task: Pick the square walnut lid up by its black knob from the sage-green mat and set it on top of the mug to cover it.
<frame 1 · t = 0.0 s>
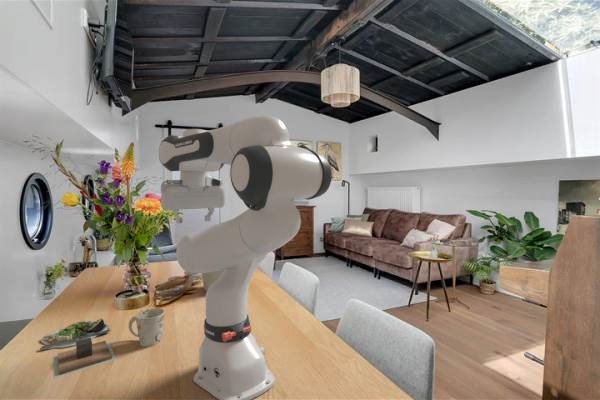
hand: (193, 222, 101), 39 cm above the table, tool pointing down, fingers open, 8 cm apart
walnut lid: (84, 357, 90), point 1 cm above the table, touching green mat
mug: (145, 343, 99), on the table
green mat: (84, 359, 90), on the table
canister: (218, 290, 151), on the table
salad plate: (78, 337, 104), on the table
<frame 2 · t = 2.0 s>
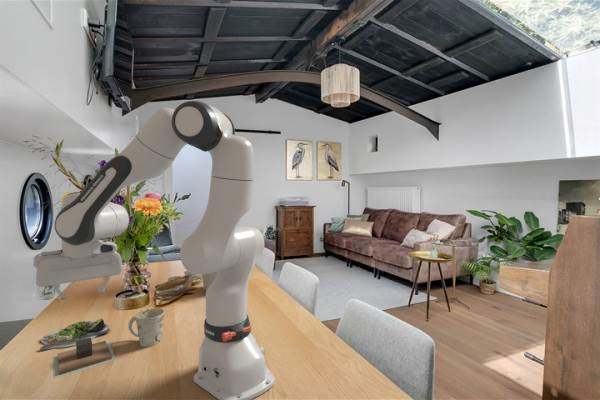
hand: (82, 295, 89), 19 cm above the table, tool pointing down, fingers open, 8 cm apart
nothing on the table moved.
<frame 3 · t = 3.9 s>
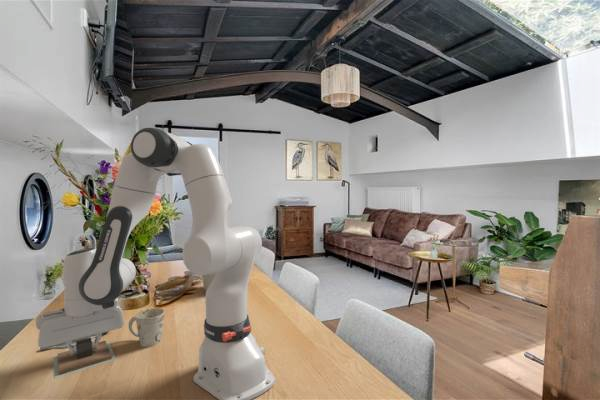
hand: (84, 351, 90), 3 cm above the table, tool pointing down, fingers closed on walnut lid, 3 cm apart
walnut lid: (84, 357, 90), point 1 cm above the table, touching green mat, gripper
everything else where it was.
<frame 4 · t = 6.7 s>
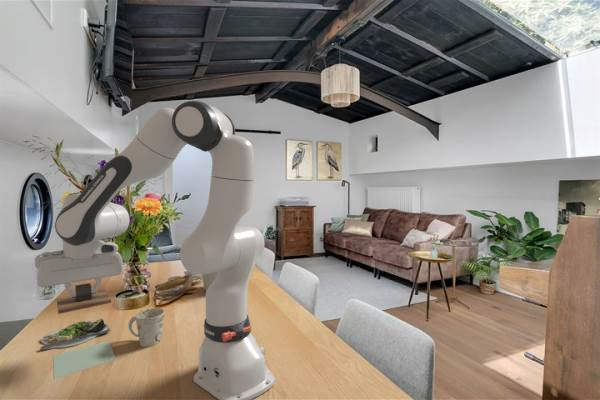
hand: (83, 295, 89), 19 cm above the table, tool pointing down, fingers closed on walnut lid, 3 cm apart
walnut lid: (83, 301, 89), point 17 cm above the table, touching gripper
everything else where it was.
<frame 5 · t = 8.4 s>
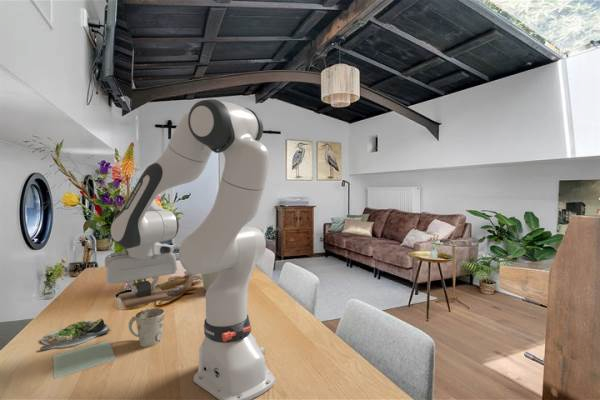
hand: (143, 292, 99), 17 cm above the table, tool pointing down, fingers closed on walnut lid, 3 cm apart
walnut lid: (143, 297, 99), point 15 cm above the table, touching gripper
everything else where it was.
when the fingers open (13 cm above the table, at t = 9.4 s): walnut lid drops 1 cm, resting on mug.
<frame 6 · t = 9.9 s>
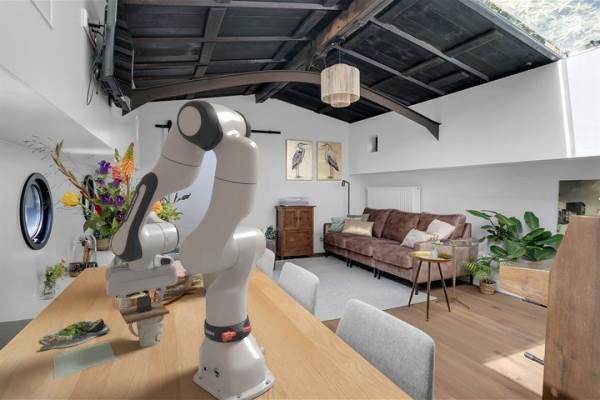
hand: (144, 303, 99), 13 cm above the table, tool pointing down, fingers open, 8 cm apart
walnut lid: (144, 312, 99), point 10 cm above the table, touching mug
mug: (145, 343, 99), on the table, touching walnut lid
everything else where it was.
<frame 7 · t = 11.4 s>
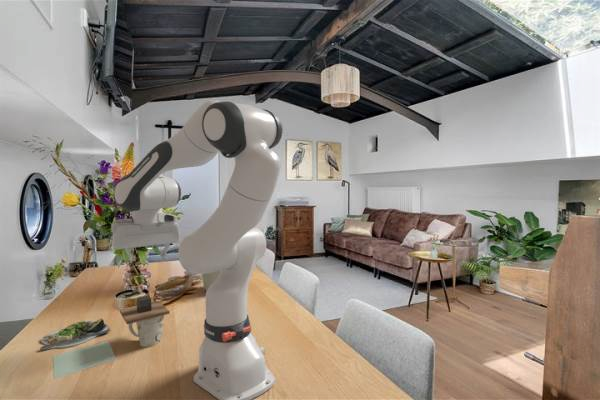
hand: (148, 259, 101), 27 cm above the table, tool pointing down, fingers open, 8 cm apart
nothing on the table moved.
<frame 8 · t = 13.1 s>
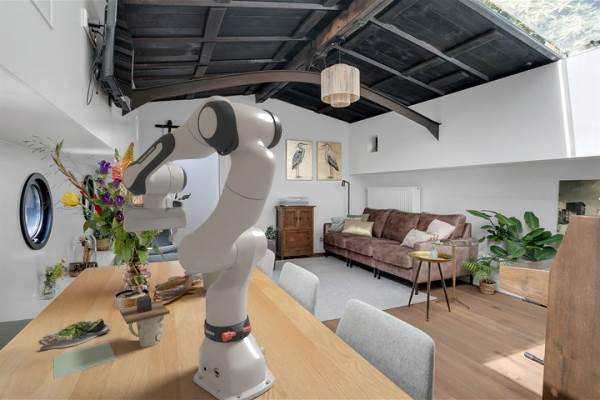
hand: (157, 242, 106), 31 cm above the table, tool pointing down, fingers open, 8 cm apart
nothing on the table moved.
at the end: walnut lid inside the target area on the mug (0.0 cm from its centre), point 10.2 cm above the mug's base; mug tilted 0°; the gripper is holding nothing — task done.
